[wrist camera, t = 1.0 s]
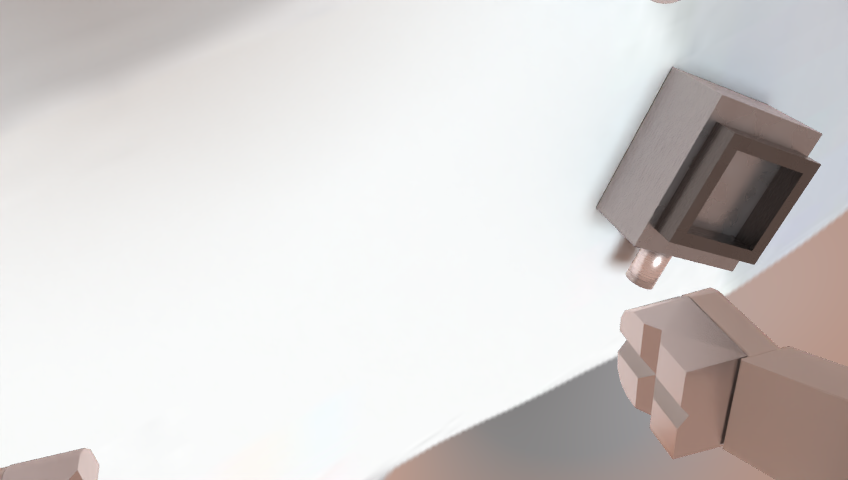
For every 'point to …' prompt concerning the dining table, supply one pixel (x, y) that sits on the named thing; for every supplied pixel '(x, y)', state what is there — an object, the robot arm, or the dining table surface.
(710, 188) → the motor block
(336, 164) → the dining table surface
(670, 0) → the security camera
